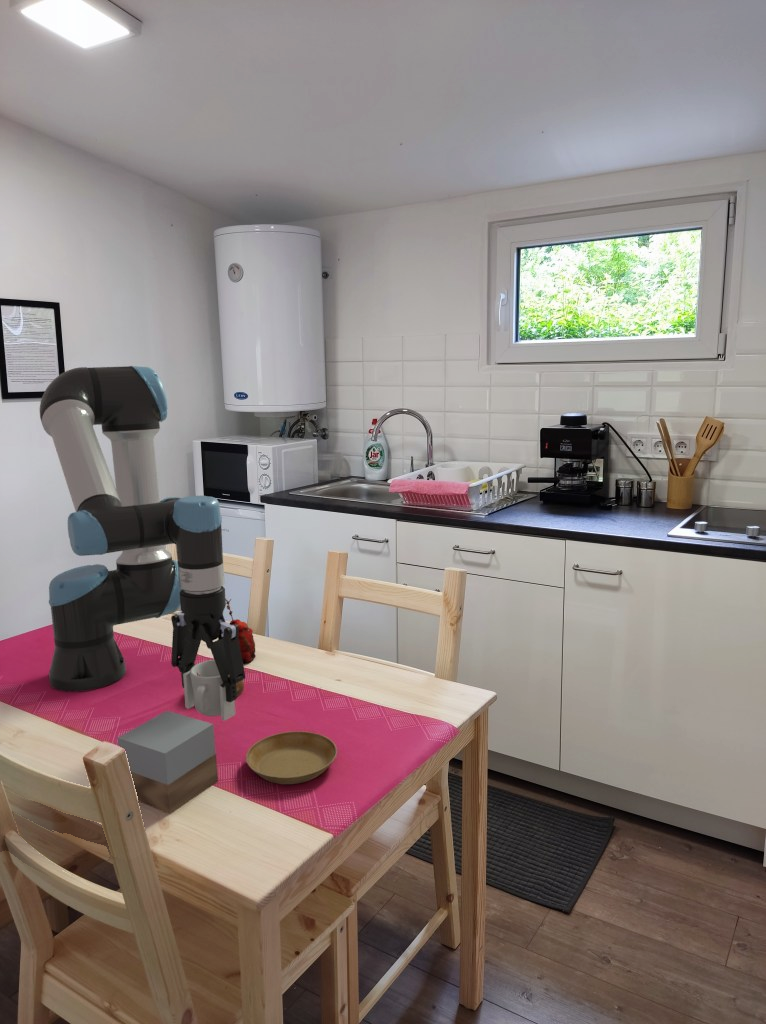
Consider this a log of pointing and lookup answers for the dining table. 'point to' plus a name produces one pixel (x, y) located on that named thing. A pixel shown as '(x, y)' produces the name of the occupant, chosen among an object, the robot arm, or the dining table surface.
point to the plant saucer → (291, 756)
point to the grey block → (168, 746)
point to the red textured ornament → (244, 638)
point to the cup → (206, 688)
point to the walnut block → (176, 787)
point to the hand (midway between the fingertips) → (210, 710)
